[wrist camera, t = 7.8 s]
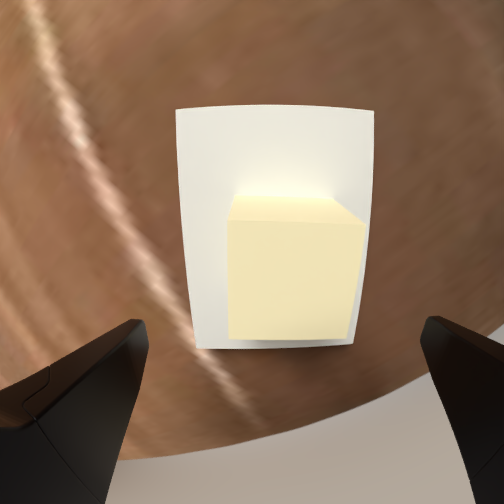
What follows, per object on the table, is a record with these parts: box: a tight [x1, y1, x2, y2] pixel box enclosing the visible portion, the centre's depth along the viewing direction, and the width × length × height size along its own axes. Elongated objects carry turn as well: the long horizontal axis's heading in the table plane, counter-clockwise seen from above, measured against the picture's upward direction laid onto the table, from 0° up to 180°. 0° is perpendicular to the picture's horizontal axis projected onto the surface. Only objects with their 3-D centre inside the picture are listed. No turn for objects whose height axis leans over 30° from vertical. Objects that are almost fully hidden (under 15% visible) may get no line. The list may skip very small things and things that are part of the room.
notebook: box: [176, 105, 374, 349], centre depth 17 cm, size 10×14×2 cm
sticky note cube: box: [227, 195, 366, 340], centre depth 14 cm, size 5×5×5 cm
